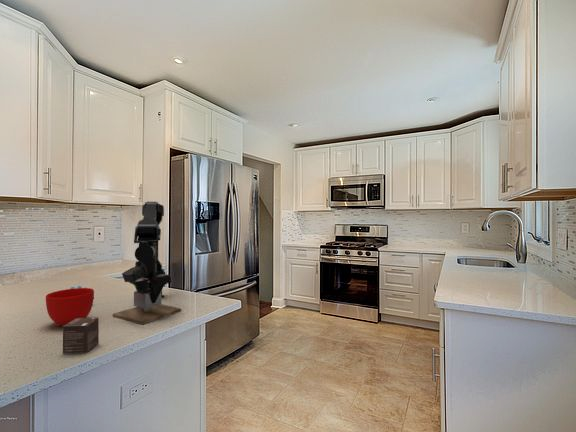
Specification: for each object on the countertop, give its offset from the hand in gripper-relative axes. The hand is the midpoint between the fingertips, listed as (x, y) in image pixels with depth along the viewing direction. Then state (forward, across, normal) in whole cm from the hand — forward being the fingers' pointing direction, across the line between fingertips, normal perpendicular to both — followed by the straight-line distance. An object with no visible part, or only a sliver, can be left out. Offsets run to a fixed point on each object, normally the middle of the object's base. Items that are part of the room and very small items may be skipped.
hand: (147, 301), depth 110 cm
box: (+5, +10, -27) cm, 29 cm away
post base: (+4, 0, 0) cm, 4 cm away
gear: (+5, -30, -8) cm, 32 cm away
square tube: (+1, 0, 0) cm, 1 cm away
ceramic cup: (+5, -15, -17) cm, 23 cm away
